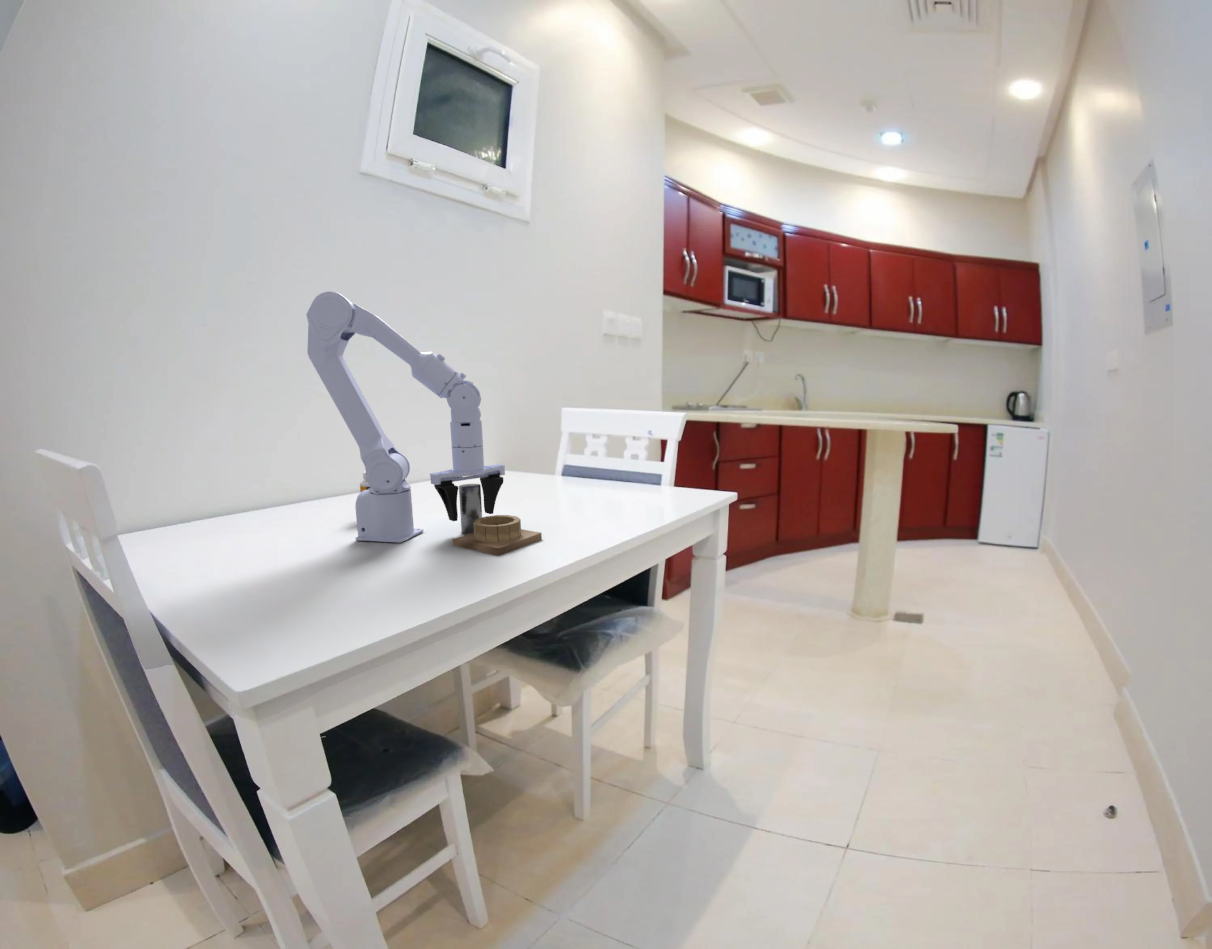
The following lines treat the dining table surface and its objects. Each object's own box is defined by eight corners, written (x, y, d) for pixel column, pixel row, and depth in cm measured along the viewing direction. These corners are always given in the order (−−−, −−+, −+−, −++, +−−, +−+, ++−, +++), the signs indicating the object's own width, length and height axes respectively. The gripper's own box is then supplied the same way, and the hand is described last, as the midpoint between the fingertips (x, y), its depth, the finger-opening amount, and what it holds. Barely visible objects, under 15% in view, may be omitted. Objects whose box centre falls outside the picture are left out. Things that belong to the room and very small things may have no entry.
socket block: (453, 545, 99) (451, 523, 98) (497, 531, 108) (496, 510, 107) (499, 555, 93) (497, 531, 92) (541, 539, 102) (540, 517, 101)
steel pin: (457, 533, 106) (454, 487, 105) (467, 528, 110) (464, 483, 109) (477, 534, 106) (474, 487, 104) (486, 529, 109) (483, 484, 108)
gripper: (440, 451, 97) (445, 527, 100) (512, 444, 107) (515, 513, 109) (423, 448, 103) (428, 520, 105) (492, 441, 112) (496, 507, 114)
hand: (471, 516), depth 107 cm, fingers open, 7 cm apart
